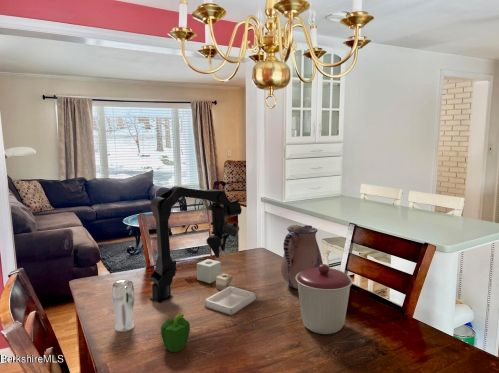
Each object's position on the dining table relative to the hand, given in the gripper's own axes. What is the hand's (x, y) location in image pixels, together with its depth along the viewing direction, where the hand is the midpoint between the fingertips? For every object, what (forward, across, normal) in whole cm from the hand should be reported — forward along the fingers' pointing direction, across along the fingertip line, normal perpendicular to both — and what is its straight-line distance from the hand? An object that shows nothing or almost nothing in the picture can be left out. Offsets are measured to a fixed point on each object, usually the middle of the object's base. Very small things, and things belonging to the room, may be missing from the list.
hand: (220, 254), depth 157 cm
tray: (+12, -20, -9) cm, 25 cm away
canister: (+13, -32, -43) cm, 55 cm away
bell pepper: (+11, -52, 0) cm, 53 cm away
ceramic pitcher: (+14, 0, -34) cm, 36 cm away
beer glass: (+11, -44, +22) cm, 50 cm away
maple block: (+12, -6, -3) cm, 14 cm away
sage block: (+12, +2, +7) cm, 14 cm away
